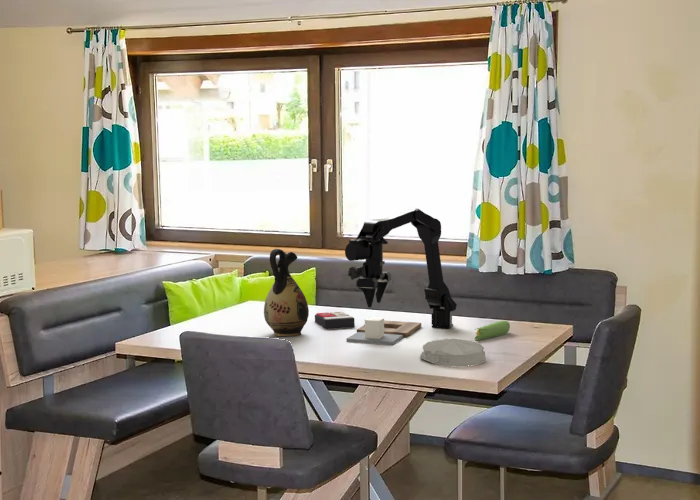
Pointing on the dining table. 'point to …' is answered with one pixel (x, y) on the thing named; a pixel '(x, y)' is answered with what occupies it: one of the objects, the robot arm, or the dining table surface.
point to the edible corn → (492, 330)
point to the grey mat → (386, 339)
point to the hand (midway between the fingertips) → (374, 305)
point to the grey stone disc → (453, 352)
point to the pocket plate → (402, 328)
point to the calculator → (334, 320)
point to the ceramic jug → (285, 298)
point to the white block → (374, 328)
